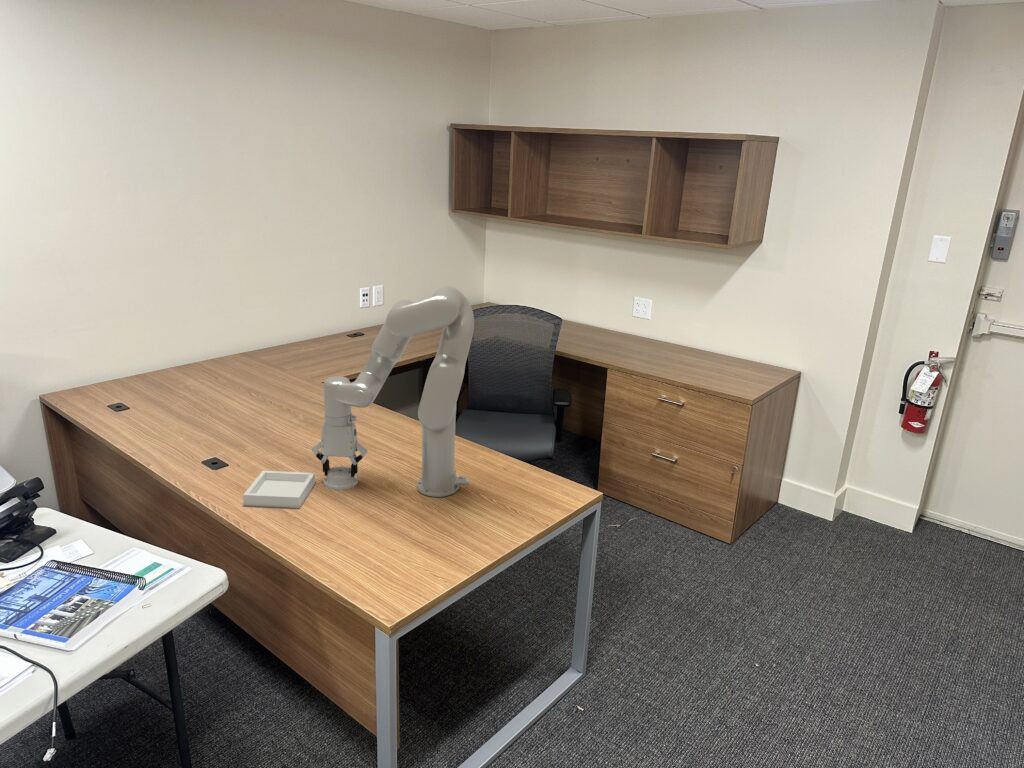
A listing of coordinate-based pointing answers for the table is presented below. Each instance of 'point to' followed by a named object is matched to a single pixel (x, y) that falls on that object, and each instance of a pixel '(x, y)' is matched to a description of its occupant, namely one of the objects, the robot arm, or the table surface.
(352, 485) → the mechanical component
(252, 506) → the grey flat plate
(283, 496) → the tray
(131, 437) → the table surface
